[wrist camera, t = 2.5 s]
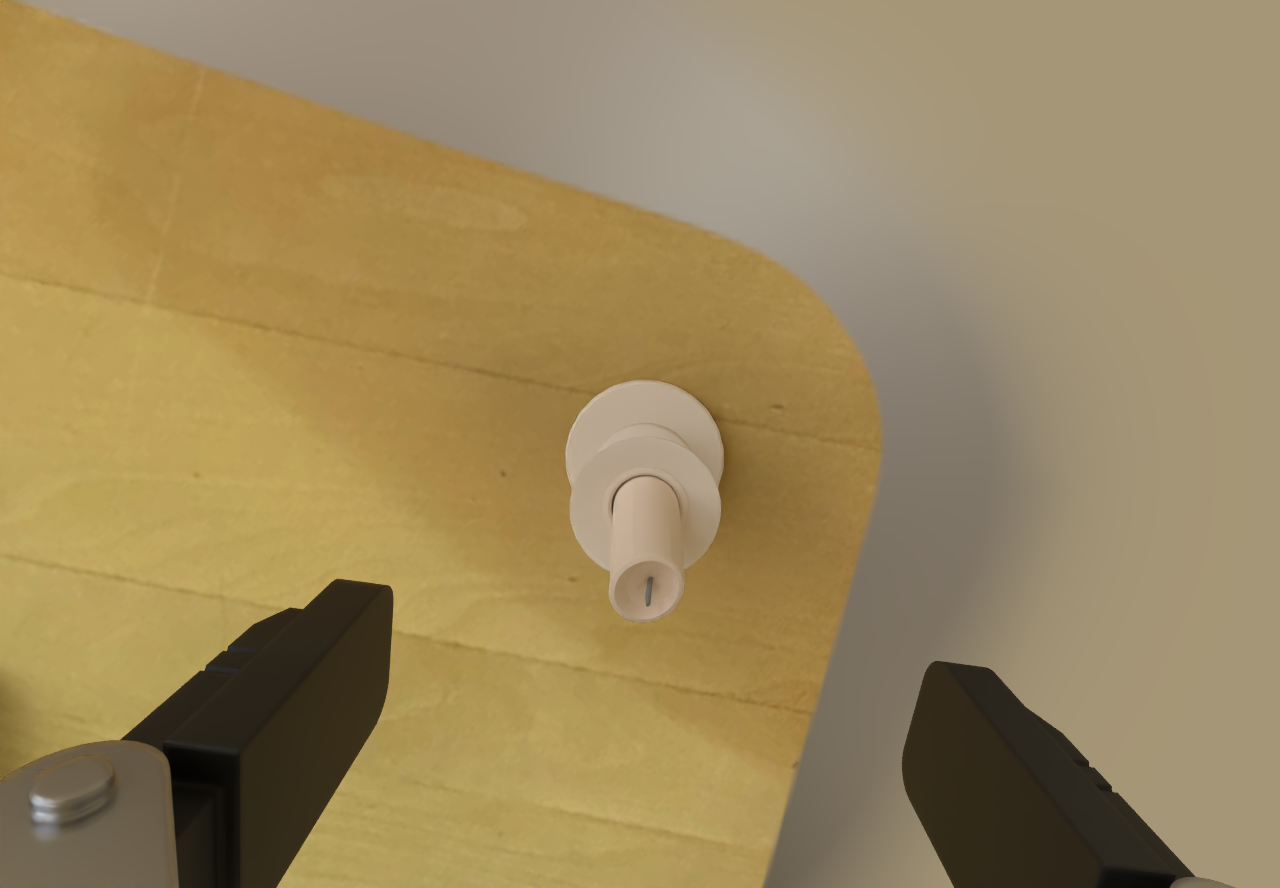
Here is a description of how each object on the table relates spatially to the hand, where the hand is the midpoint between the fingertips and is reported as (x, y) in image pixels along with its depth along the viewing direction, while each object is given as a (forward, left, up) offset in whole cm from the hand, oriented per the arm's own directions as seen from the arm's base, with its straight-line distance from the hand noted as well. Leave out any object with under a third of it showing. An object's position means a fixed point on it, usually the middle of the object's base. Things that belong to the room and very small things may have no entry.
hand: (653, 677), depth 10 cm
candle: (0, 0, -13) cm, 13 cm away
